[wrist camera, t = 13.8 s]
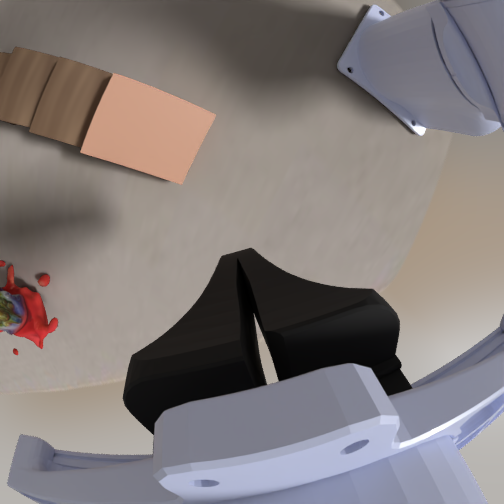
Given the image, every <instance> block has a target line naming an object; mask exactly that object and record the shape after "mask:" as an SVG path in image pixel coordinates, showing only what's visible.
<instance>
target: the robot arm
mask: <svg viewBox="0 0 504 504" xmlns="http://www.w3.org/2000/svg"><path fill="white" fill-rule="evenodd" d="M379 12H380V13H381V14H382V15H380V13H379ZM337 68H338V70H339V71H340V72H342V73H343V74H344V75H346V76H347V77H349V78H350V79H351V80H353V81H354V82H355V83H357V84H358V85H359V86H361V87H362V88H363V89H365V90H366V91H367V92H369V93H370V94H371V95H372V96H374V97H375V98H376V99H377V100H378V101H380V102H381V103H382V104H383V105H384V106H386V107H387V108H388V109H389V110H390V111H391V112H393V113H394V114H395V115H396V116H397V117H398V118H399V119H400V120H402V121H403V122H404V123H405V124H406V125H407V126H408V127H409V128H410V129H411V130H412V131H413V132H414V133H415V134H417V135H420V136H421V135H423V134H424V132H425V130H426V128H430V129H437V130H443V131H449V132H455V133H461V134H465V135H471V136H482V135H486V134H489V133H492V132H494V131H495V130H497V129H498V128H499V127H500V126H501V127H502V130H503V132H504V0H435V1H432V2H429V3H426V4H423V5H420V6H418V7H415V8H412V9H409V10H407V11H404V12H401V13H399V14H396V15H394V16H390V15H389V14H388V13H386V12H385V11H384V10H383V9H381V8H380V7H379V6H377V5H372V6H370V8H369V9H368V11H367V13H366V14H365V16H364V18H363V20H362V21H361V23H360V25H359V26H358V28H357V30H356V32H355V33H354V35H353V37H352V38H351V40H350V42H349V44H348V45H347V47H346V49H345V51H344V52H343V54H342V56H341V58H340V59H339V61H338V63H337ZM347 68H350V69H351V73H349V72H348V70H347ZM412 121H413V125H412V123H411V122H412ZM254 314H255V317H256V319H257V322H258V324H259V327H260V329H261V332H262V334H263V337H264V339H265V342H266V344H267V346H268V349H269V351H270V354H271V357H272V360H273V363H274V367H275V370H276V373H277V377H278V380H279V382H276V383H272V384H269V385H267V383H266V379H265V375H264V372H263V368H262V364H261V359H260V354H259V348H258V340H257V333H256V326H255V319H254ZM399 331H400V321H399V318H398V315H397V313H396V312H395V311H394V310H393V309H392V307H391V306H390V305H389V304H388V303H387V302H386V301H385V300H384V299H383V298H382V297H381V296H380V295H379V294H378V293H377V292H376V291H375V290H374V289H362V288H343V287H336V286H329V285H324V284H320V283H316V282H312V281H308V280H305V279H302V278H300V277H297V276H295V275H292V274H290V273H287V272H285V271H284V270H282V269H280V268H278V267H277V266H275V265H274V264H272V263H271V262H269V261H268V260H266V259H265V258H264V257H262V256H261V255H260V254H259V253H257V252H256V251H255V250H254V249H252V248H248V249H245V250H241V251H238V252H234V253H230V254H227V255H223V256H221V258H220V260H219V262H218V265H217V267H216V269H215V271H214V274H213V275H212V277H211V279H210V281H209V283H208V285H207V287H206V288H205V290H204V291H203V293H202V295H201V296H200V298H199V299H198V300H197V301H196V303H195V304H194V305H193V306H192V308H191V309H190V310H189V311H188V312H187V313H186V314H185V315H184V316H183V317H182V318H181V319H180V320H179V321H178V322H177V323H176V324H175V325H174V326H173V327H172V328H170V329H169V330H168V331H167V332H166V333H164V334H163V335H162V336H161V337H159V338H158V339H157V340H155V341H154V342H152V343H151V344H149V345H148V346H146V347H144V348H143V349H141V350H140V351H138V352H137V353H135V354H133V355H132V357H131V360H130V364H129V367H128V372H127V377H126V382H125V388H124V394H123V401H124V404H125V406H126V408H127V409H128V410H129V412H130V413H131V414H132V415H133V416H134V417H135V418H136V419H137V420H138V421H139V422H140V423H141V424H142V425H143V426H144V427H146V428H147V429H148V430H149V431H150V432H151V433H152V434H153V435H154V442H153V454H152V455H109V454H92V453H80V452H71V451H63V450H56V449H54V448H53V447H52V446H51V445H50V444H48V443H47V442H46V441H44V440H42V439H40V438H38V437H34V436H28V435H23V434H21V435H20V436H19V439H18V443H17V446H16V449H15V453H14V457H13V461H12V465H11V469H10V473H9V477H8V482H7V484H8V486H9V487H11V488H13V489H14V490H16V491H17V492H19V493H21V494H23V495H24V496H26V497H28V498H30V499H32V500H33V501H35V502H37V503H39V504H488V503H487V501H486V499H485V497H484V495H483V493H482V491H481V489H480V487H479V485H478V484H477V482H476V480H475V478H474V476H473V475H472V473H471V471H470V469H469V467H468V466H467V464H466V462H465V460H464V459H463V457H462V455H461V453H460V452H459V450H460V449H461V448H462V447H464V446H465V445H466V444H467V443H469V442H470V441H471V440H472V439H474V438H475V437H476V436H477V435H478V434H480V433H481V432H482V431H483V430H484V429H485V428H486V427H488V426H489V425H490V424H491V423H492V422H493V421H494V420H495V419H496V418H497V417H499V415H501V414H502V413H503V412H504V315H503V317H502V320H501V323H500V327H498V328H497V329H496V330H495V331H493V332H492V333H491V334H489V335H488V336H487V337H485V338H484V339H483V340H482V341H480V342H479V343H477V344H476V345H474V346H473V347H472V348H470V349H469V350H467V351H466V352H464V353H463V354H462V355H460V356H458V357H457V358H455V359H454V360H452V361H451V362H449V363H448V364H446V365H444V366H443V367H441V368H439V369H438V370H436V371H434V372H433V373H431V374H429V375H427V376H426V377H424V378H422V379H420V380H418V381H417V382H415V383H413V384H411V385H410V383H409V382H408V380H407V379H406V377H405V376H404V374H403V373H402V371H401V370H400V368H401V366H402V365H401V362H400V360H399V359H398V357H397V356H396V355H395V353H396V348H397V343H398V337H399Z"/></svg>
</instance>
